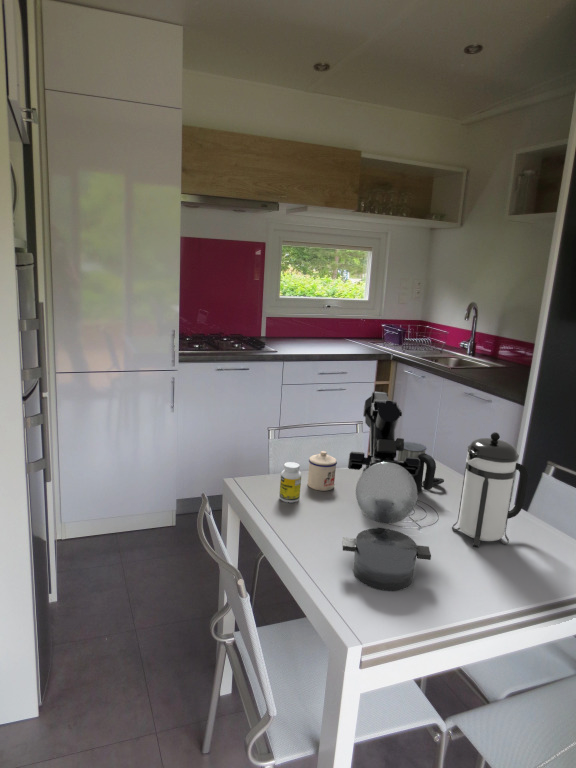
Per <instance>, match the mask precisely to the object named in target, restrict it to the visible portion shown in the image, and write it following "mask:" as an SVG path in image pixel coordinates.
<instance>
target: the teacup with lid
mask: <svg viewBox="0 0 576 768" xmlns="http://www.w3.org/2000/svg"><path fill="white" fill-rule="evenodd" d="M327 453H328V452H327V451H325V450H321V451H320V453H317V454H313V455H311V456H309V459H308V462H309V463H308V464H309V465H308V473H307V474H308V477H307V486H308V487H309V488H311V489H312V490H316V491H322V492H324V491H325V492H326V491H330V490H333V488H335V479H336V468H337V464H338V461H337V458H335V457H334V456H331V455H329V454H327Z"/></svg>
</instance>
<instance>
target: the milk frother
mask: <svg viewBox="0 0 576 768" xmlns="http://www.w3.org/2000/svg"><path fill="white" fill-rule="evenodd" d="M427 449H428V448H427V446H426V445H424V444H422V443H418V442H415V441H404V450H403V451H397V459H396V460H397V461H404V459H405V457H416V458H419V459H420V461H421V467H420V469H419V472H418V474H417V475H411V476H412V477H413V479H414V480H415V483H416V486H417V494H419V493H421V492H422V491H423V490H424V491H430V490H431V489H432V488H433V487H434V486H438V485H441V484H444V482H445V479H444V478H441V477H440V478H439V477H435V474H436V470H437V469H436V468H437V463H436V460H435V458H434V457H433V456H431V455H429V454H428V453H426V451H427ZM424 467H426V469H425V468H424ZM424 469H425V475H424ZM423 478H424V480H423Z"/></svg>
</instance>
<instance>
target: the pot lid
mask: <svg viewBox="0 0 576 768" xmlns="http://www.w3.org/2000/svg"><path fill="white" fill-rule="evenodd" d="M355 497H356V501H357V504H358V507H359V508H360V510H361V512H362V513H363V514H364V515H365V516H366V517H368V519H370V520H372V521H374V522H376V523H380V524H387V525H388V524H394V523H398V522H401V521H402V520H405V519H406V518H407V517H409V515H410V514H411V513H412V512H413V510H414V508H415V507H416V505H417V501H418V493H417V486H416V483H415V480H414V479H413V477H412V476H411V474H410V473H409V472H408V471H407V470H406V469H405V468H403V467H402V466H400V465H398V464H395V463H391V462H381V463H377V464H374V465H372V466H370V467H369V468H367V469H366V470H365V471H364V472H363V473H362V472H361V474H360V476H359V478H358V480H357V483H356V486H355Z"/></svg>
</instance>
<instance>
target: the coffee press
mask: <svg viewBox="0 0 576 768" xmlns="http://www.w3.org/2000/svg"><path fill="white" fill-rule="evenodd" d="M500 438H501V436H500V434H499V433H498V432H492V433H491V434H490V437H489V438H488V437H482V438H481V437H480V438H477V439H474V440H472V441H471V443H470V444H469V445H468V446H467V449H466V450H467V456H466V459H465V469H464V475H463V480H462V487H461V495H460V502H459V509H458V514H457V515H458V516H457V521H456V522H455V523H454V524H453V525H452V527H451V529H452V531H454V532H457V531H459V530H460V531H461V532H462V533H463V534H465V535H466V536H468V537H469V538H473V544H472V545H473V546H472V547H473V548H476V549H479V547H480V543H481V541H482V542H483V541H484V542H495V541H498V540H499V541H501V543H502V544H503V545H504V546H507V545H509V541H510V540H509V539H510V538H508V536H507V527H508V520H509V519H513V518H514V517H516V516H517V515H519V513H520V512H521V511H522V508H523V506H524V504H525V503H524V502H525V497H526V491H527V485H528V477H529V476H528V474H529V473H528V470H527V468H526V466H525V465H523V464H521V463H519V462H518V461H519V456H520V455H519V454H518V451H517V449H516V447H515V446H514V445H512V444H511V443H509V442H507V441H504V440H501V439H500ZM517 471H518V472H519V481H518V489H517V495H516V499H515V500H516V501H515V504H514V507H513V508H512V509H511V510H510V508H511V500H512V496H513V490H514V483H515V478H516V472H517ZM457 524H458V528H455V526H456V525H457ZM503 536H505V537H504V538H505V539H506V541H504V539H503Z"/></svg>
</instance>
